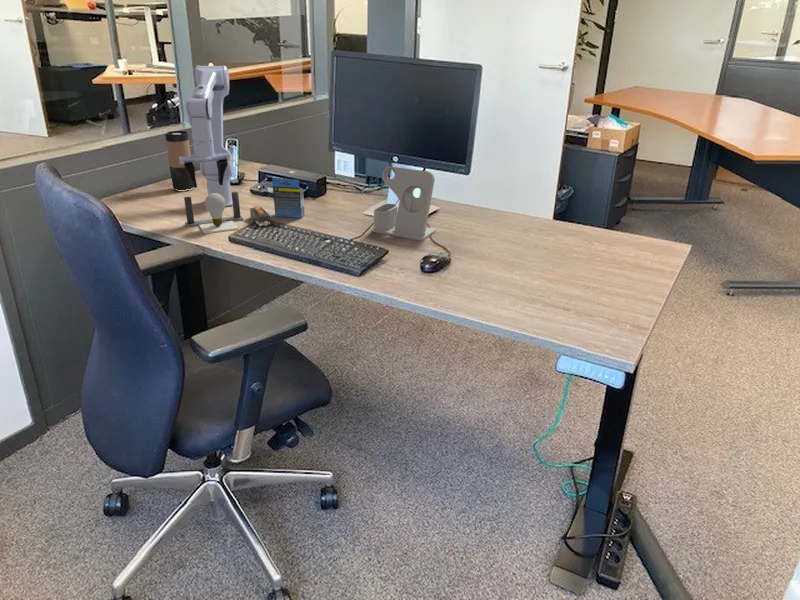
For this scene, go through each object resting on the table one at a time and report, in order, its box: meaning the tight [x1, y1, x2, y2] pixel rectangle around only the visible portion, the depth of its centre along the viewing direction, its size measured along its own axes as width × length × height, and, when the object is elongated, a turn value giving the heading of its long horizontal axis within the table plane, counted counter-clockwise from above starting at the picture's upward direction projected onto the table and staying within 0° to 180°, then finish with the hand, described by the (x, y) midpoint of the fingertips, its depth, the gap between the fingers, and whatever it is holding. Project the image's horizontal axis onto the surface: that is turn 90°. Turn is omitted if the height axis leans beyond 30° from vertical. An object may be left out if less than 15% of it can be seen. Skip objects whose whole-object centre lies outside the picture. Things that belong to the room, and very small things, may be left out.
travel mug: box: [164, 130, 194, 190], centre depth 221 cm, size 8×8×20 cm
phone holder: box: [372, 166, 436, 241], centre depth 183 cm, size 17×10×18 cm, turn 63°
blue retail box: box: [271, 177, 305, 219], centre depth 196 cm, size 9×4×12 cm, turn 80°
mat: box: [199, 221, 239, 235], centre depth 187 cm, size 8×10×1 cm
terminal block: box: [249, 205, 272, 223], centre depth 192 cm, size 10×4×4 cm, turn 27°
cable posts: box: [183, 191, 244, 228], centre depth 190 cm, size 3×17×8 cm, turn 117°
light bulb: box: [204, 193, 226, 226], centre depth 185 cm, size 6×6×10 cm
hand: (208, 185), depth 191 cm, fingers open, 7 cm apart
